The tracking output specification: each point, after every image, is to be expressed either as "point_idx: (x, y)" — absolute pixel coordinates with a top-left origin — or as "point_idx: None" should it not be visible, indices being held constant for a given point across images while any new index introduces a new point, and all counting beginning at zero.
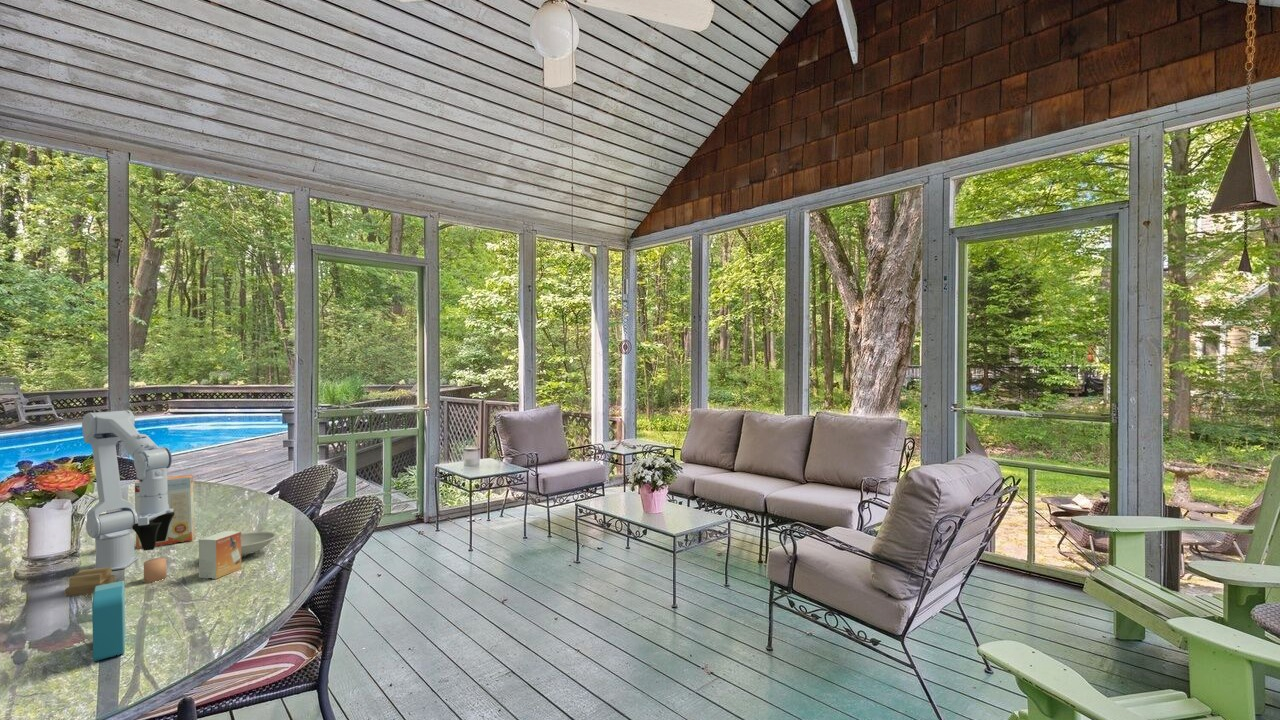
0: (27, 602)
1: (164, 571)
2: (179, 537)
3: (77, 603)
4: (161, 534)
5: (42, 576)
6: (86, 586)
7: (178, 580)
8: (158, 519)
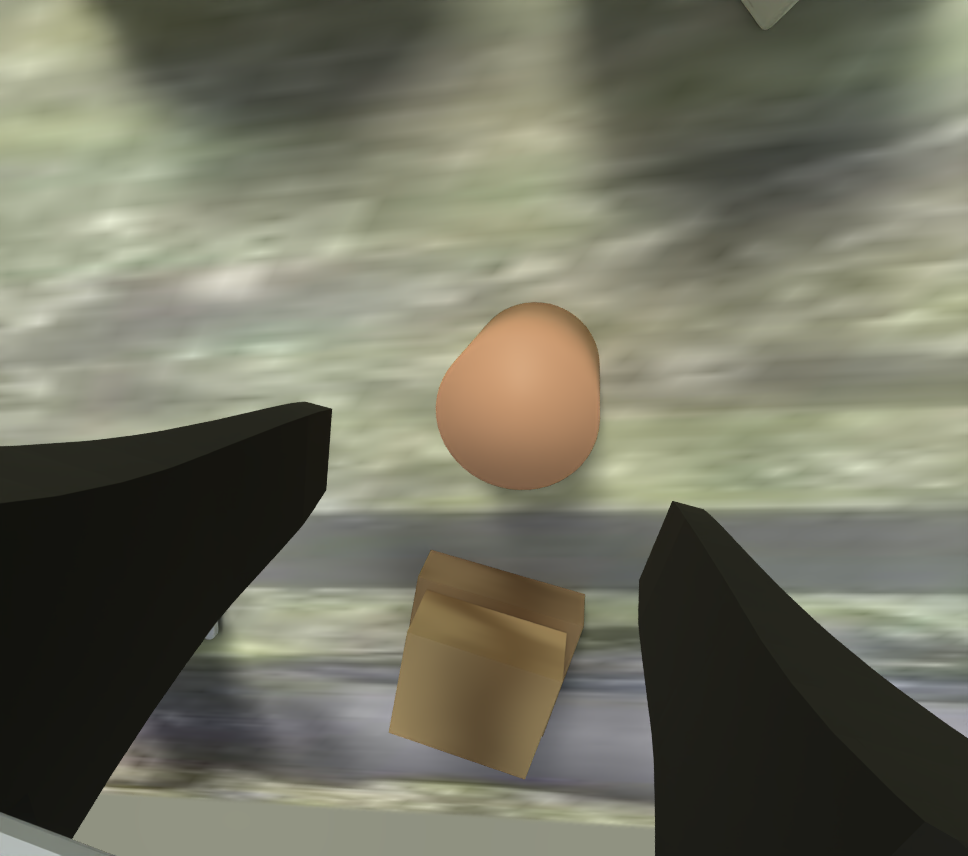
0: (525, 786)
1: (563, 325)
2: None
3: None
4: (280, 477)
5: (185, 740)
6: (563, 677)
7: (680, 212)
8: (66, 693)
